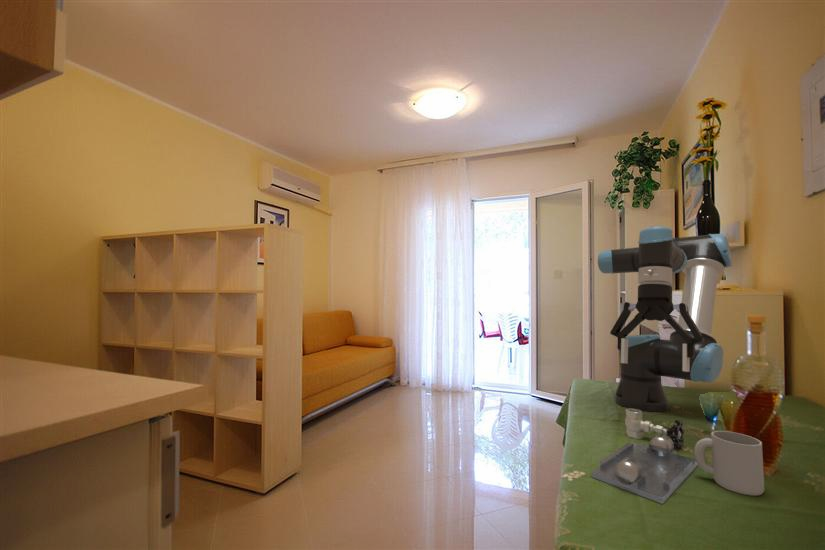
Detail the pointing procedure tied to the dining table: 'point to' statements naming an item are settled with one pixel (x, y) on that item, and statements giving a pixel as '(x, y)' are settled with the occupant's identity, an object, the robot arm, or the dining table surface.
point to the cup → (733, 461)
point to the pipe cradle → (646, 468)
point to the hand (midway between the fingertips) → (653, 367)
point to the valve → (651, 427)
